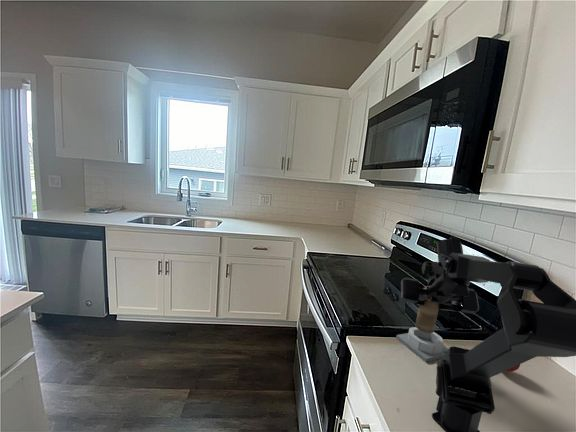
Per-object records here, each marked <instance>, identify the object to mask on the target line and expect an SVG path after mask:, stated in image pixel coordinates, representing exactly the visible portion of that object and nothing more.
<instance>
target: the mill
mask: <svg viewBox="0 0 576 432" xmlns="http://www.w3.org/2000/svg"><path fill="white" fill-rule="evenodd" d="M426 287H430V285H426V286H425V287H423V289H426ZM439 305H440V304H439V303H433V302H431V300H430V299H425V300H424V305H418V311H417V315H416V319H415V324H414V325H415V327H416V328H417V329H419V330H421V331H423V332H426V333H433V332H435V328H436V324H437V323H436V322H437V318H438V313H439V310H440V309H439Z"/></svg>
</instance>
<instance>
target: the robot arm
mask: <svg viewBox="0 0 576 432" xmlns="http://www.w3.org/2000/svg"><path fill="white" fill-rule="evenodd" d="M460 239H461V238H459V237H456V236H450V237H449V238H445V239H441V240H439V241H437V242H436V248H437V249H436V250H437V261H424V262H423V263H422V266H421V273H422V275H426V276H427V277H428V279H427V280H426V281H427V282H426V283H427V286H430V287H426V286H425V288H426V289H423V288H424V284H421V283H419V280H418V279H415V278H409V277H403V278H402V279H401V281H400V299H401V300H402V301H403V302H407V303H413V304H414V305H417V306H419V305H424V300H425V299H430V300H431V302H433V303H439V304H440V305H439V310H442V311H450V312H451V311H452V312H457V313H461V312H462V313H466V314H470V315H471V314H472V315H474V314H476V313H477V312H479V310H480V304H479V303H480V302H479V300H478V299H479V298H478V293H477V292H476V291H475V290H474V288H469V286H470V284H471V283H479V284H481V283H482V284H483V283H484V284H485V283H489V282H492V283H495V284H499V285H500V287H501V291H500V294H499V296H498V298H497V300H496V305H497V308H498V310H499V313H500V317H501V321H502V322H501V323H502V325H503V327H501V329H499V330H497V331H496V332H495V333H493V334H491V335H490V336H488V337H487V338H485V339H484V340H482V341H481V342H480V343H478V344H476V345H475V346H474V347H472V348H471V349H467V348H463V347H458V346H454V345H453V346H450V347H448V350H447V351H444V354H445V355H443V356H442V357H441V359H438V362H437V364H436V377H435V385H436V388H435V394H436V396H438V400H437V404H436V408H435V410H436V412H433V413H431V417H432V419H433V420H434V421H436V423H438V425H439V426H440V427H441V428H442V429H443V430H445V431H446V432H481V430H479V429H478V428H479V426H480V422H481V417H482V414H483V413H484V414H485V413H486V414H488V415H492V413H493V412H494V411H495V409H496V407H495V403H494V402H495V401H494V397H493V390H492V380H491V378H493V377H495V376H497V375H499V374H501V373H503V372H507V371H506V370H508V369H510V368H513V367H515V366H517V365H519V364H520V365H521V364H523V363H526V362H528V361H530V360H532V359H534V358H536V357H537V358H538V357H544V358H545V357H547V358H548V357H549V358H553V357H554V358H569V357H576V299H575V298H574V297H573V296H571V295H570V294H569V293H567V292H566V291H565V290H564V289H562V288H561V287H560V286H558V285H557V284H556V283H555V282H553V281H552V280H551V278H550V277H549V275H548V273H547V271H546V270H545V269H544V268H542V267H540V266H538V265H535V264H530V263H523V262H515V261H507V262H506V261H504V262H502V261H492V260H490V259H488V258H486V257H483V256H479V255H472V254H464V249H463V243H462V241H461V240H460ZM514 289H518V290H525V291H531V292H532V294H533V295H534V296H535V297H536V298H537V299H538V300H539V301H541V302H537V301H532V300H526V299H519V298H518V299H517V298H516V295H515V293H514Z"/></svg>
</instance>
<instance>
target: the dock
mask: <svg viewBox="0 0 576 432" xmlns="http://www.w3.org/2000/svg"><path fill="white" fill-rule="evenodd" d="M395 339H397V341H399V342H400V343H401V344H403V345H404V346H405V347H407V348H408V349H409V350H410V351H411V352H413V353H414V354H415V355H416V356H417V357H419V359H421V360H422V361H424V362H425V363H428V362H432V361H435V360H440V359H441V357H442V356H443V355H445V354H444V351H447V350H448V349H449V347H447V346H445V345H444V341H443V340H444V339H443V337H442V336H440V335H439V334H438V333H436V332H435V331H434V332H433V333H426V332H423V331H421V330H419V329H417V328H416V326H415V327H409V329H408V332H406V333H400V334H396V337H395Z"/></svg>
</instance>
